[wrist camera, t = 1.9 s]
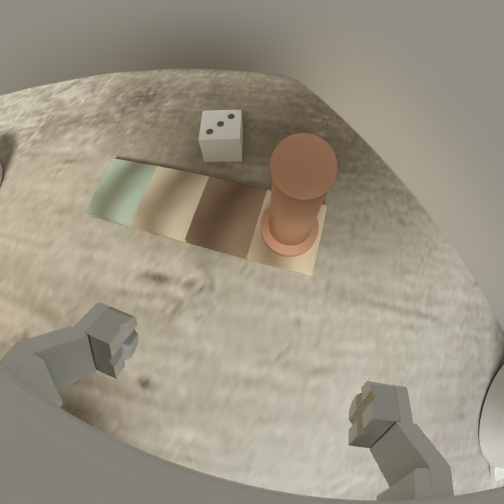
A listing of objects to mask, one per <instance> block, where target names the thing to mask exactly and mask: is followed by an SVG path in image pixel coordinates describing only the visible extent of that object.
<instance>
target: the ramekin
mask: <svg viewBox="0 0 504 504" xmlns="http://www.w3.org/2000/svg"><path fill="white" fill-rule="evenodd" d="M1 181H2V166H1V163H0V184H1Z"/></svg>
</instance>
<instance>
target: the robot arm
mask: <svg viewBox="0 0 504 504" xmlns="http://www.w3.org/2000/svg"><path fill="white" fill-rule="evenodd" d="M136 326H137V321H136V318H135V317H134V316H132V315H129V314H127V313H124V312H122V311H120V310H117V309H115V308H113V307H110V306H108V305H105V304H103V303H101V302H100V303H97V304H96V305H95V306H94V307H93V308H92V309H91V310H90V311H89V312H88V313H87V314H86V315H85V316H84V317H83V318H82V319H81V320H80V321H79V322H78V323H77V324H76V325H75V326H74V327H71V326H69V327H66V328H63V329H59V330H56V331H53V332H49V333H46V334H43V335H40V336H36V337H33V338H30V339H26V340H23V341H20V342H17V343H16V344H15V345H14V346H13V347H12V348H11V349H10V350H9V351H8V353H7V354H6V355H5V356H4V357H3V358H2V359H1V360H0V504H504V486H503V487H499V488H495V489H490V490H485V491H480V492H475V493H469V494H463V495H456V496H454V493H453V484H452V476H451V469H450V466H449V464H448V463H447V462H446V460H445V459H444V458H443V457H442V455H441V454H440V453H439V452H438V450H437V449H436V448H435V447H434V445H433V444H432V443H431V442H430V440H429V439H428V438H427V437H426V435H425V434H424V433H423V431H422V430H421V429H420V428H419V426H418V425H417V424H413V420H412V414H411V408H410V402H409V396H408V391H407V388H406V387H402V386H395V385H389V384H382V383H376V382H370V381H367V382H366V383H364V385H363V386H362V393H360V394H358V395H356V396H355V398H354V400H353V401H352V404H351V407H350V411H349V420H350V422H351V423H352V427H351V428H350V429H349V445H350V446H357V447H365V448H370V451H371V453H372V455H373V457H374V458H375V460H376V462H377V464H378V466H379V468H380V470H381V472H382V473H383V475H384V477H385V479H386V481H387V483H388V485H389V488H388V489H386V490H385V491H383V492H382V493H380V494H379V495H378V496H377V501H367V500H346V499H333V498H322V497H313V496H306V495H298V494H292V493H286V492H280V491H274V490H269V489H264V488H259V487H255V486H250V485H246V484H242V483H238V482H234V481H230V480H226V479H223V478H219V477H216V476H212V475H209V474H206V473H202V472H199V471H196V470H193V469H190V468H187V467H184V466H181V465H179V464H176V463H173V462H170V461H168V460H165V459H163V458H160V457H157V456H155V455H153V454H150V453H148V452H145V451H143V450H141V449H138V448H136V447H134V446H132V445H129V444H127V443H125V442H123V441H121V440H119V439H117V438H115V437H112V436H110V435H108V434H106V433H104V432H103V431H101V430H99V429H97V428H95V427H93V426H91V425H89V424H87V423H86V422H84V421H82V420H80V419H79V418H77V417H75V416H73V415H72V414H70V413H68V412H67V411H65V410H63V409H62V408H60V407H61V406H62V405H63V403H62V399H61V397H60V395H59V393H58V390H60V389H62V388H64V387H66V386H68V385H70V384H72V383H74V382H76V381H78V380H80V379H82V378H84V377H86V376H88V375H90V374H92V373H94V372H96V370H98V371H100V372H102V373H105V374H107V375H109V376H111V377H114V378H117V377H118V375H119V374H120V372H121V371H122V370H123V368H124V367H125V363H124V360H126V359H129V358H131V357H132V355H133V354H134V352H135V349H136V347H137V343H138V334H137V332H136V331H135V330H134V328H135V327H136ZM479 440H480V447H481V450H482V453H483V455H484V457H485V458H486V459H487V461H488V462H489V464H490V476H491V479H492V480H496V481H499V480H502V479H504V364H503V366H502V367H501V368H500V370H499V371H498V373H497V375H496V376H495V378H494V380H493V382H492V384H491V386H490V389H489V391H488V394H487V396H486V399H485V402H484V406H483V410H482V414H481V420H480V428H479Z"/></svg>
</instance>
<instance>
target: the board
mask: <svg viewBox="0 0 504 504" xmlns="http://www.w3.org/2000/svg"><path fill="white" fill-rule="evenodd" d="M270 202H271V190H267V189H262V188H258V187H254V186H250V185H246V184H241V183H237V182H232V181H228V180H223V179H219V178H214V177H210V176H205V175H200V174H195V173H190V172H185V171H180V170H175V169H170V168H165V167H160V166H154V165H149V164H143V163H137V162H132V161H126V160H120V159H112V161H111V163H110V165H109V167H108V169H107V171H106V173H105V174H104V176H103V178H102V180H101V182H100V184H99V186H98V188H97V190H96V192H95V195H94V197H93V199H92V201H91V203H90V205H89V207H88V210H87V212H86V213H87V214H88V215H90V216H93V217H97V218H100V219H104V220H107V221H111V222H115V223H118V224H122V225H125V226H129V227H132V228H136V229H140V230H143V231H147V232H150V233H154V234H158V235H161V236H165V237H169V238H172V239H176V240H180V241H183V242H187V243H190V244H194V245H198V246H201V247H205V248H209V249H212V250H216V251H220V252H223V253H227V254H231V255H235V256H238V257H242V258H246V259H249V260H253V261H257V262H260V263H264V264H268V265H272V266H275V267H279V268H283V269H287V270H290V271H294V272H298V273H302V274H305V275H309V276H311V275H312V273H313V269H314V265H315V260H316V256H317V252H318V247H319V243H320V238H321V233H322V229H323V224H324V219H325V214H326V210H327V205H324V204H322V205H321V208H320V210H319V213H318V215H317V220H318V224H319V231H318V236H317V238H316V240H315V242H314V244H313V245H312V247H311V248H310V249H309V250H308V251H307V252H305V253H303V254H301V255H298V256H294V257H286V256H281V255H279V254H276V253H275V252H273V251H272V250H270V249H269V248H268V247H267V246H266V244H265V243H264V241H263V238H262V235H261V220H262V217H263V214H264V212H265V211H266V210H267V208H268V207H269V206H270Z"/></svg>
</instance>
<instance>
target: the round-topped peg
mask: <svg viewBox="0 0 504 504" xmlns="http://www.w3.org/2000/svg"><path fill="white" fill-rule="evenodd" d="M337 171H338V163H337V158H336V155H335V153H334V151H333V149H332V148H331V146H330V145H329V144H328V143H327V142H326V141H325V140H324V139H322V138H320V137H319V136H316V135H313V134H310V133H296V134H293V135H290V136H288V137H286V138H284V139H283V140H282V141H281V142H279V144H278V145H277V146H276V147H275V149H274V151H273V153H272V155H271V159H270V172H271V176H272V188H271V202H270V206H269V207H268V208H267V210H266V211H265V212H264V214H263V217H262V220H261V235H262V238H263V241H264V243H265V244H266V246H267V247H268V248H269V249H270V250H272V251H273V252H275V253H276V254H279V255H281V256H286V257H294V256H298V255H301V254H303V253H305V252H307V251H308V250H309V249H310V248H311V247H312V245H313V244H314V242H315V240H316V238H317V236H318V231H319V224H318V220H317V215H318V213H319V210H320V208H321V205H322V203H323V201H324V198H325V196H326V193H327V191H328V190H329V189H330V188H331V186H332V185H333V183H334V181H335V179H336V176H337Z"/></svg>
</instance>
